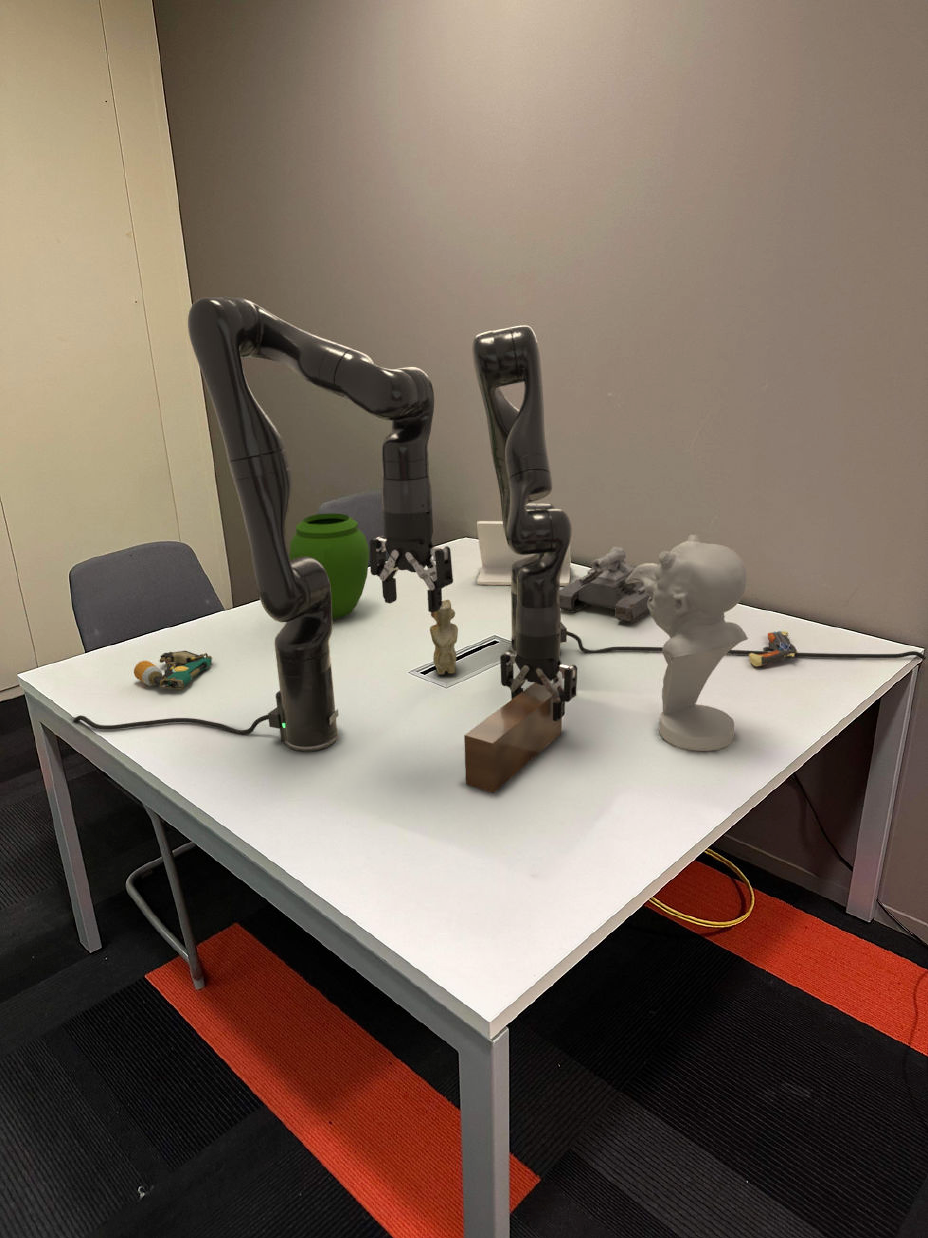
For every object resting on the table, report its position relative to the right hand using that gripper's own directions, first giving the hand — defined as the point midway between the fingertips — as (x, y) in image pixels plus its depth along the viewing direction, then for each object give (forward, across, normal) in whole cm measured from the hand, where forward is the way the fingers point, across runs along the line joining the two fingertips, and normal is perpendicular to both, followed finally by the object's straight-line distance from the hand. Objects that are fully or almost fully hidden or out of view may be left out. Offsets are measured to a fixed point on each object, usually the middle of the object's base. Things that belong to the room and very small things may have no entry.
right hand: (537, 714), depth 149 cm
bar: (+5, 0, -8) cm, 9 cm away
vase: (+5, -75, +30) cm, 81 cm away
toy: (+5, -17, +70) cm, 73 cm away
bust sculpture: (+5, +19, +16) cm, 25 cm away
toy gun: (+5, +24, +59) cm, 64 cm away
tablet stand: (+5, -49, +81) cm, 94 cm away
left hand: (-23, -13, -17) cm, 32 cm away
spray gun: (+5, -79, -15) cm, 80 cm away
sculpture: (+5, -31, +16) cm, 35 cm away
